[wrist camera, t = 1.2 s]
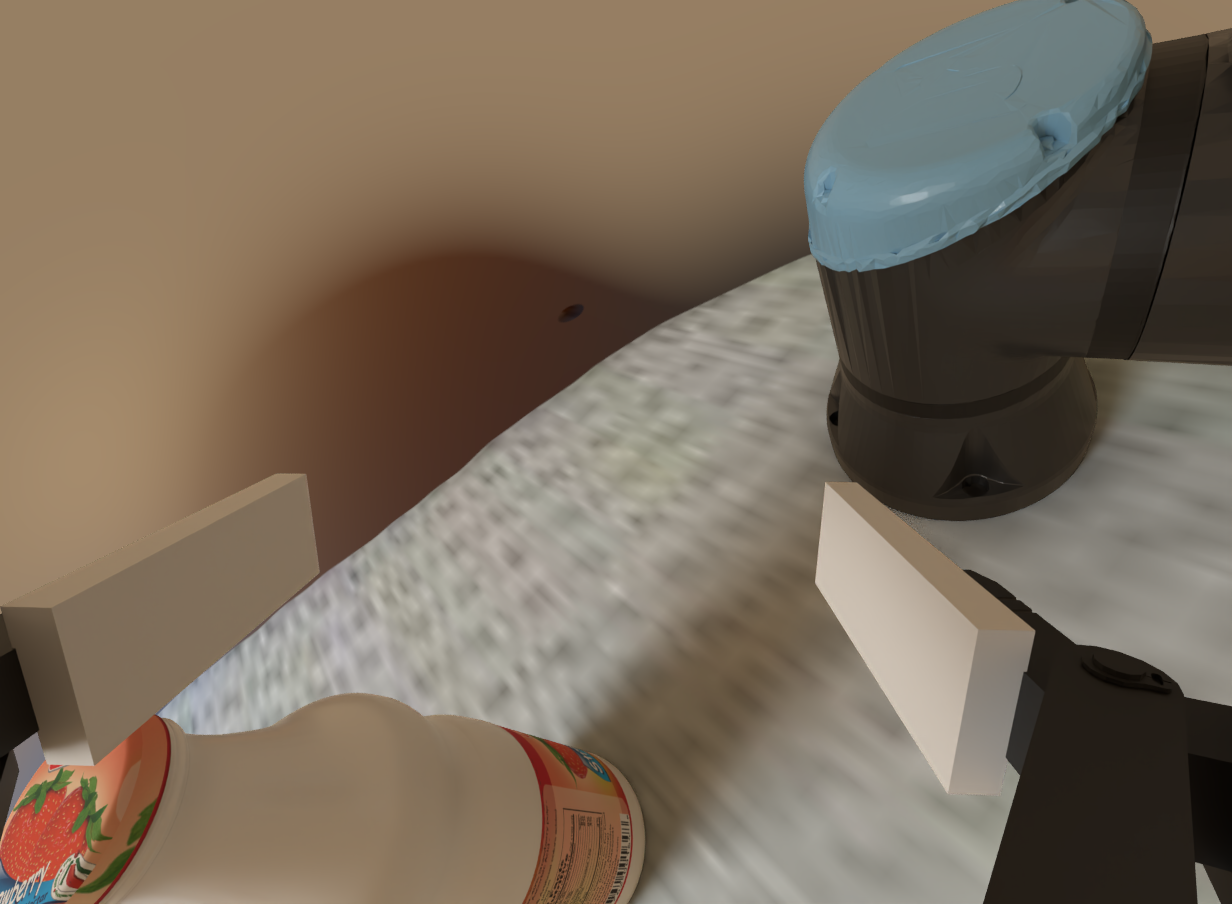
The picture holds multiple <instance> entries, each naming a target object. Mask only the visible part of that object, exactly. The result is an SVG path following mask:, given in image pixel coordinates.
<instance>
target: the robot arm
mask: <svg viewBox="0 0 1232 904" xmlns="http://www.w3.org/2000/svg"><path fill="white" fill-rule="evenodd" d="M804 190H805V197H806V203H807V209H808V217H809V235H808V242H809V243H810V245H809V246H810V249H811V253H812V255H813V257H814V258H815V259H816V262H817V267H818V271H819V275H820V279H821V283H822V287H823V291H824V295H825V300H826V304H827V308H828V312H829V316H830V320H831V324H832V328H833V333H834V337H835V341H836V345H837V349H838V353H839V358H840V359H839V363H838V366H837V369H836V373H835V376H834V380H833V383H832V387H831V390H830V393H829V398H828V403H827V426H828V432H829V435H830V439H831V443H832V446H833V449H834V452H835V455H836V457H837V460H838V462H839V464H840V465H841V467H842V469H843V470H844V471H845V473H846V474H847V475H848V477H849V478H850V479H851V480H852V481H853V482H825V491H824V501H823V511H822V521H821V530H820V540H819V550H818V560H817V569H816V579H815V584H816V585H817V587H818V588H819V590H820V592H821V593H822V595H823V596H824V598H825V600H826V601H827V603H828V604H829V606H830V607H831V609H832V611H833V612H834V614H835V615H836V617H837V619H838V620H839V622H840V623H841V625H842V627H843V628H844V630H845V631H846V633H847V634H848V636H849V638H850V639H851V641H852V642H853V644H854V646H855V647H856V649H857V650H858V652H859V654H860V655H861V657H862V658H863V660H864V661H865V663H866V665H867V666H868V668H869V669H870V671H871V673H872V674H873V676H874V677H875V679H876V681H877V682H878V684H879V685H880V687H881V688H882V690H883V692H884V693H885V695H886V696H887V698H888V700H889V701H890V703H891V704H892V706H893V708H894V709H895V711H896V712H897V714H898V715H899V717H900V719H901V720H902V722H903V723H904V725H905V727H906V728H907V730H908V731H909V733H910V735H911V736H912V738H913V739H914V741H915V742H916V744H917V746H918V747H919V749H920V750H921V752H922V754H923V755H924V757H925V758H926V760H927V762H928V763H929V765H930V766H931V768H932V769H933V771H934V773H935V774H936V776H937V777H938V779H939V781H940V782H941V784H942V785H943V787H944V789H945V790H946V792H947V793H948V794H967V795H998V796H1000V795H1001V790H1002V785H1003V781H1004V776H1005V771H1006V767H1007V762H1008V761H1009V762H1010V763H1011V765H1012V766H1013V767H1014V768H1015V770H1016V771H1017V772H1018V773H1019V775H1020V779H1019V782H1018V786H1017V789H1016V792H1015V796H1014V799H1013V803H1012V806H1011V810H1010V813H1009V816H1008V820H1007V823H1006V827H1005V830H1004V834H1003V837H1002V841H1001V844H1000V847H999V851H998V854H997V858H996V861H995V865H994V868H993V871H992V875H991V878H990V882H989V885H988V889H987V892H986V895H985V899H984V902H983V904H1198V903H1197V888H1196V873H1195V862H1197V863H1201V864H1203V866H1204V868H1205V870H1206V872H1207V875H1208V877H1209V879H1210V881H1211V883H1212V885H1213V887H1214V890H1215V892H1216V894H1217V896H1218V898H1219V900H1220V902H1221V904H1232V706H1227V705H1222V704H1217V703H1212V702H1207V701H1201V700H1196V699H1191V698H1186V697H1184V694H1183V692H1182V690H1181V689H1180V687H1179V685H1178V683H1176V682H1175V681H1174V680H1173V679H1171V678H1170V677H1169V676H1168V675H1167V674H1165V673H1164V672H1163V671H1161V670H1159V669H1157V668H1155V667H1153V666H1151V665H1150V664H1148V663H1146V662H1144V661H1142V660H1139V659H1137V658H1134V657H1131V656H1129V655H1126V654H1123V653H1121V652H1118V651H1114V650H1109V649H1105V648H1101V647H1097V646H1086V645H1076V644H1075V643H1074V642H1072V641H1071V640H1070V639H1068V638H1067V637H1066V636H1065V635H1063V634H1062V633H1061V632H1060V631H1058V630H1057V629H1056V628H1054V627H1053V626H1052V625H1051V624H1049V623H1048V622H1047V621H1046V620H1044V619H1043V618H1042V617H1040V616H1039V615H1038V614H1037V613H1032V610H1031V609H1030V608H1029V607H1028V606H1026V605H1025V604H1024V603H1023V602H1021V601H1020V600H1016V597H1015V596H1014V595H1012V594H1011V593H1010V592H1009V591H1007V590H1006V589H1005V588H1003V587H1002V586H1001V585H1000V584H998V583H997V582H995V581H993V580H991V579H989V578H986V577H984V576H982V575H980V574H978V573H976V572H974V571H972V570H962V569H960V568H959V567H958V566H957V565H956V564H954V563H953V562H952V561H951V560H950V559H948V558H947V557H946V556H945V555H944V554H942V553H941V552H940V551H939V550H937V549H936V548H935V547H934V546H933V545H931V544H930V543H929V542H928V541H927V540H925V539H924V538H923V537H922V536H921V535H919V534H918V533H917V532H916V531H915V530H913V529H912V528H911V527H910V526H909V525H907V524H906V523H905V522H904V521H903V520H901V519H900V518H899V517H898V516H897V515H895V514H894V513H893V512H892V511H890V510H889V509H888V508H887V507H886V506H884V505H883V504H885V505H887V506H889V507H891V508H893V509H896V510H899V511H901V512H904V513H908V514H911V515H915V516H919V517H924V518H929V519H937V520H949V521H966V520H978V519H986V518H992V517H996V516H1001V515H1005V514H1008V513H1011V512H1014V511H1017V510H1020V509H1022V508H1025V507H1027V506H1029V505H1032V504H1034V503H1036V502H1037V501H1039V500H1041V499H1043V498H1045V497H1046V496H1048V495H1049V494H1051V493H1052V492H1053V491H1055V490H1056V489H1057V488H1059V487H1060V486H1061V485H1062V484H1063V483H1064V482H1065V481H1066V480H1067V479H1068V478H1069V477H1070V476H1071V475H1072V474H1073V473H1074V471H1075V470H1076V469H1077V467H1078V466H1079V464H1080V463H1081V461H1082V460H1083V458H1084V456H1085V453H1086V451H1087V449H1088V446H1089V443H1090V440H1091V437H1092V433H1093V430H1094V427H1095V423H1096V418H1097V394H1096V389H1095V385H1094V382H1093V379H1092V377H1091V375H1090V372H1089V370H1088V369H1087V367H1086V364H1085V360H1084V357H1087V358H1109V359H1124V360H1126V359H1127V360H1136V361H1154V362H1172V363H1189V364H1207V365H1225V366H1232V28H1230V29H1226V30H1221V31H1216V32H1211V33H1207V34H1202V35H1198V36H1192V37H1187V38H1181V39H1177V40H1171V41H1165V42H1160V43H1154V44H1152V38H1151V34H1150V33H1149V32H1148V30H1147V29H1146V27H1145V22H1144V19H1143V17H1142V15H1141V14H1140V13H1139V11H1138V10H1137V8H1136V7H1134V6H1133V5H1132V4H1130V3H1128V2H1127V1H1125V0H1018V1H1015V2H1011V3H1008V4H1004V5H1001V6H998V7H996V8H993V9H990V10H987V11H984V12H981V13H979V14H976V15H974V16H971V17H969V18H966V19H964V20H961V21H959V22H957V23H954V24H952V25H950V26H948V27H946V28H944V29H941V30H939V31H938V32H936V33H934V34H932V35H930V36H929V37H926V38H925V39H923V40H921V41H919V42H917V43H915V44H914V45H912V46H910V47H909V48H907V49H906V50H904V51H902V52H901V53H899V54H898V55H896V56H895V57H893V58H892V59H890V60H889V61H887V62H886V63H885V64H884V65H883V66H882V67H881V68H879V69H878V70H877V71H875V72H874V73H872V74H871V75H869V76H868V77H867V78H866V79H864V80H863V81H862V82H861V83H859V84H858V85H857V86H856V87H855V88H854V89H853V90H852V91H851V92H850V93H849V94H848V95H847V96H846V97H845V98H844V99H843V100H842V101H841V102H840V103H839V104H838V106H837V107H836V108H835V109H834V110H833V111H832V113H831V114H830V115H829V117H828V118H827V120H826V121H825V123H824V124H823V125H822V127H821V129H820V130H819V132H818V133H817V135H816V137H815V139H814V141H813V144H812V146H811V148H810V151H809V154H808V157H807V161H806V165H805V172H804ZM882 503H883V504H882ZM317 574H319V564H318V558H317V550H316V543H315V536H314V528H313V521H312V514H311V506H310V499H309V492H308V484H307V477H306V474H275V475H273V476H271V477H268V478H266V479H264V480H262V481H260V482H259V483H256V484H254V485H252V486H250V487H248V488H246V489H244V490H241V491H239V492H237V493H235V494H233V495H231V496H229V497H227V498H225V499H223V500H221V501H219V502H217V503H214V504H212V505H210V506H208V507H206V508H204V509H202V510H200V511H198V512H196V513H194V514H192V515H190V516H188V517H185V518H183V519H181V520H179V521H177V522H175V523H173V524H171V525H169V526H167V527H165V528H163V529H161V530H159V531H156V532H154V533H152V534H150V535H148V536H146V537H144V538H142V539H140V540H138V541H136V542H134V543H131V544H130V545H127V546H125V547H123V548H121V549H119V550H117V551H115V552H113V553H111V554H109V555H106V556H104V557H103V558H100V559H98V560H96V561H94V562H92V563H90V564H88V565H86V566H84V567H82V568H80V569H78V570H75V571H73V572H71V573H69V574H67V575H65V576H63V577H61V578H59V579H57V580H55V581H52V582H51V583H48V584H46V585H44V586H42V587H40V588H38V589H36V590H34V591H32V592H30V593H27V594H25V595H23V596H21V597H19V598H17V599H15V600H13V601H11V602H9V603H7V604H5V605H3V606H0V607H1V611H2V614H0V841H1V837H2V834H3V830H4V826H5V822H6V818H7V814H8V811H9V807H10V804H11V800H12V796H13V792H14V789H15V784H16V780H17V777H18V773H19V768H18V764H17V760H16V757H15V754H14V751H13V749H14V748H15V747H16V746H18V745H19V744H21V743H22V742H23V741H25V740H26V739H28V738H29V737H30V736H32V735H33V734H35V733H36V732H38V736H39V739H40V742H41V746H42V749H43V753H44V756H45V759H46V763H47V764H49V765H79V766H95V765H96V764H97V763H98V762H100V761H101V760H102V759H103V758H104V757H105V756H107V755H108V754H109V753H110V752H111V751H112V750H114V749H115V748H116V747H117V746H118V745H119V744H121V743H122V742H123V741H124V740H125V739H126V738H128V737H129V736H130V735H131V734H132V733H133V732H135V731H136V730H137V729H138V728H139V727H140V726H142V725H143V724H144V723H145V722H146V721H147V720H149V719H150V718H151V717H152V716H153V715H154V714H155V713H156V712H158V711H159V710H160V709H161V708H162V707H164V706H165V705H166V704H167V703H168V702H169V701H171V700H172V699H173V698H174V697H175V696H176V695H178V694H179V693H180V692H181V691H182V690H183V689H185V688H186V687H187V686H188V685H189V684H190V683H192V682H193V681H194V680H195V679H196V678H197V677H199V676H200V675H201V674H202V673H203V672H204V671H206V670H207V669H208V668H209V667H210V666H211V665H213V664H214V663H215V662H216V661H217V660H218V659H220V658H221V657H222V656H223V655H224V654H225V653H227V652H228V651H229V650H230V649H231V648H232V647H234V646H235V645H236V644H237V643H238V642H239V641H240V640H242V639H243V638H244V637H245V636H246V635H248V634H249V633H250V632H251V631H252V630H253V629H254V628H256V627H257V626H258V625H259V624H260V623H261V622H263V621H264V620H265V619H266V618H267V617H268V616H269V615H271V614H272V613H273V612H274V611H275V610H277V609H278V608H279V607H280V606H281V605H282V604H284V603H285V602H286V601H287V600H288V599H289V598H291V597H292V596H293V595H294V594H295V593H296V592H298V591H299V590H300V589H301V588H302V587H303V586H305V585H306V584H307V583H308V582H309V581H310V580H312V579H313V578H314V577H315V576H316V575H317Z"/></svg>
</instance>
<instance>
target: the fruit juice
mask: <svg viewBox="0 0 1232 904" xmlns="http://www.w3.org/2000/svg"><path fill="white" fill-rule="evenodd" d="M644 855H645V827H644V820H643V815H642V811H641V808H640V805H639V802H638V799H637V797H636V795H635V792H634V790H633V789H632V787H631V785H630V784H629V782H628V781H627V779H626V778H625V777H624V775H623V774H622V773H621V772H620V771H619V770H618V769H617V768H616V767H615V766H614V765H612V764H611V763H610V762H608V761H606V760H605V759H603V758H602V757H600V756H598V755H595V754H593V753H590V752H586V751H583V750H579V749H576V748H573V747H569V746H566V745H562V744H559V743H556V742H552V741H549V740H545V739H542V738H539V737H535V736H532V735H528V734H525V733H521V732H518V731H515V730H511V729H508V728H504V727H501V726H498V725H495V724H492V723H489V722H486V721H483V720H478V719H474V718H468V717H463V716H456V715H430V716H422V715H421V714H420V713H419V712H417V711H416V710H414V709H413V708H411V707H410V706H408V705H406V704H404V703H402V702H400V701H398V700H395V699H393V698H389V697H384V696H379V695H374V694H367V693H346V694H339V695H334V696H330V697H326V698H323V699H320V700H317V701H315V702H312V703H310V704H308V705H306V706H304V707H302V708H300V709H298V710H296V711H294V712H293V713H291V714H289V715H287V716H286V717H284V718H283V719H281V720H280V721H278V722H277V723H275V724H274V725H272V726H270V727H266V728H263V729H258V730H252V731H245V732H238V733H230V734H222V735H195V734H186V733H185V732H184V731H183V729H182V728H181V727H180V726H179V725H178V724H177V723H175V722H174V721H172V720H170V719H167V718H160V717H159V716H157V715H155V714H154V715H153V716H152V717H151V718H150V719H149V720H147V721H146V722H145V723H144V724H143V725H142V726H140V727H139V728H138V729H137V730H136V731H135V732H133V733H132V734H131V735H130V736H129V737H128V738H126V739H125V740H124V741H123V742H122V743H121V744H119V745H118V746H117V747H116V748H115V749H114V750H112V751H111V752H110V753H109V754H108V755H107V756H105V757H104V758H103V759H102V760H101V761H100V762H98V763H97V764H96V765H95V766H79V765H49V764H47V763H46V760H45V761H44V762H43V764H42V765H41V766H40V767H39V769H38V770H37V772H36V773H35V774H34V776H33V777H32V779H31V780H30V782H29V783H28V785H27V786H26V788H25V789H24V791H23V793H22V794H21V796H20V798H19V800H18V801H17V803H16V805H15V807H14V809H13V811H12V813H11V814H10V816H9V818H8V820H7V822H6V825H5V827H4V830H3V834H2V837H1V841H0V904H627V903H628V902H629V900H630V899H631V897H632V895H633V893H634V891H635V889H636V886H637V884H638V881H639V878H640V875H641V871H642V867H643V862H644Z"/></svg>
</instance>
